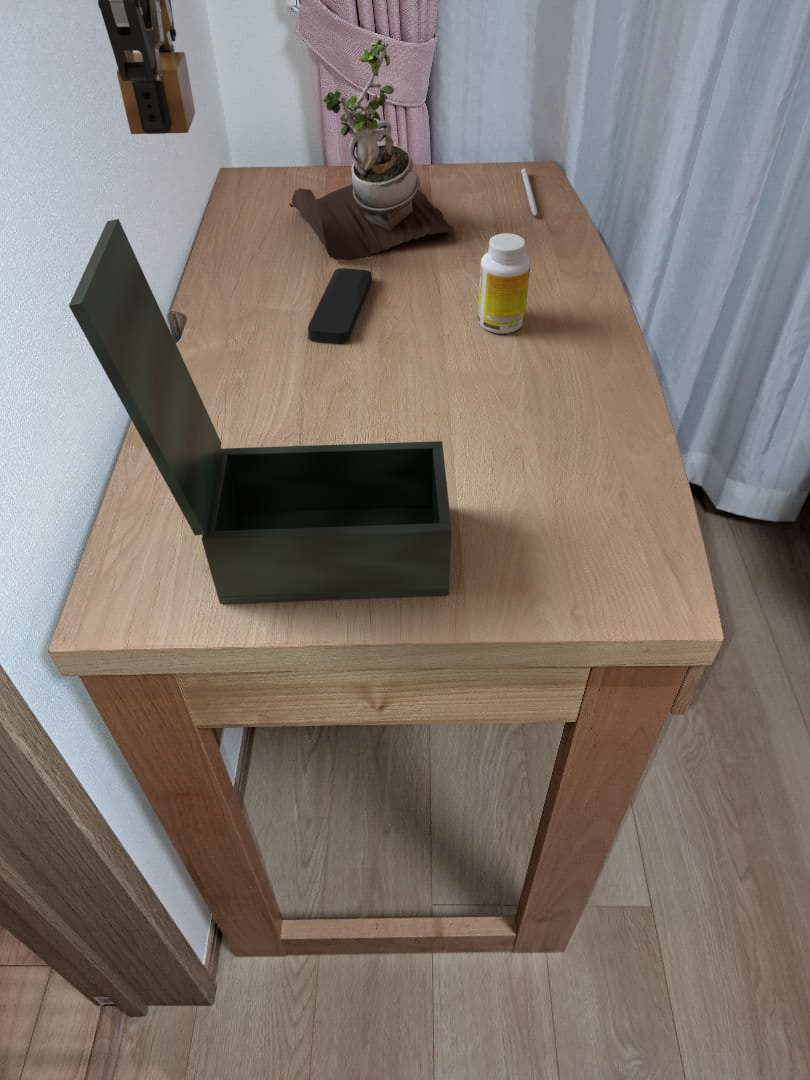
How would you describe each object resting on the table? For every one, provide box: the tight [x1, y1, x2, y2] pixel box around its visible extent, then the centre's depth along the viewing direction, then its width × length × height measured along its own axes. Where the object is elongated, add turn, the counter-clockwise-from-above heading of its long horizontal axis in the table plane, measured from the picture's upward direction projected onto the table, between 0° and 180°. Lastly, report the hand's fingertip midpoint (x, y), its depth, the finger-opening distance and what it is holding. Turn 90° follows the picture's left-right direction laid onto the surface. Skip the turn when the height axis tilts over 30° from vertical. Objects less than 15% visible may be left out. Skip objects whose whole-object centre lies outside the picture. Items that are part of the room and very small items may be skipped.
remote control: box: [307, 267, 374, 344], centre depth 100 cm, size 5×2×15 cm
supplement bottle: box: [477, 232, 531, 335], centre depth 94 cm, size 6×6×10 cm
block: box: [116, 51, 196, 135], centre depth 66 cm, size 5×5×5 cm
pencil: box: [520, 167, 539, 217], centre depth 121 cm, size 1×1×15 cm
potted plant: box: [288, 38, 457, 261], centre depth 108 cm, size 20×19×25 cm
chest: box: [201, 440, 453, 605], centre depth 70 cm, size 19×11×8 cm, turn 92°
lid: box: [68, 218, 222, 537], centre depth 59 cm, size 20×11×1 cm
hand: (162, 119), depth 67 cm, fingers closed on block, 4 cm apart
